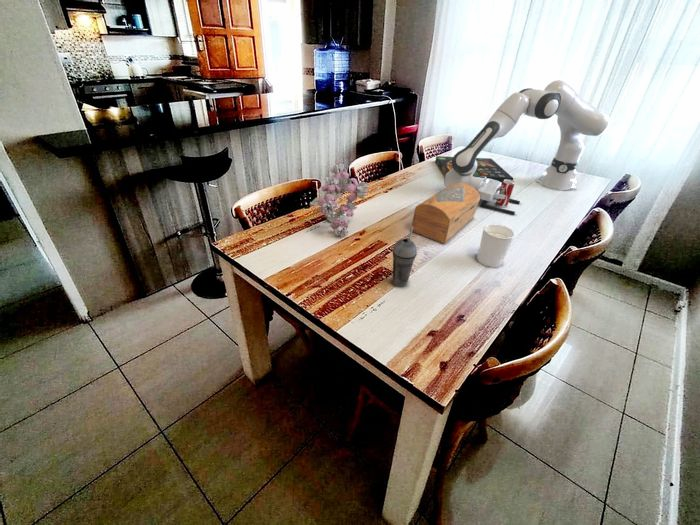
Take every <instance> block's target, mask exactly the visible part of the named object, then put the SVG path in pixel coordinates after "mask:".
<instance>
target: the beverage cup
mask: <svg viewBox="0 0 700 525" xmlns="http://www.w3.org/2000/svg"><path fill="white" fill-rule="evenodd" d="M412 234H413V226H412V225H411V229H410V232H409V235H408V238H401V239H399V240H398V241H396V242H395V244H394V246H393V247H392V284H393V285H394V286H395V287H398V288H405V287H406V286H407V285H408V282H409V279H410V276H411V272H412V268H413V265H414V261H415V259H416V257H417V255H418V249H417V245H416V244H415V243H414V241H413V240H411V238H412Z"/></svg>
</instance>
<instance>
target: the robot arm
mask: <svg viewBox="0 0 700 525" xmlns="http://www.w3.org/2000/svg"><path fill="white" fill-rule="evenodd" d="M554 115H556V116H557V119H556V120H557V121H556V122H557V125H558V127H559V131H560V139H559V140H560V141H559V144H558V148H557V150H556V153H555V155H554V157H553V158H552V161H551V164H550V166H548V167H546V168H545V170H544V172H543V175H542V176H541V177H540V178H538V179H537V180H536V181H537V183H538V184H541V185H543V187H544V186H545V187H547V188H548V189H553V190H558V191H569V190H570V191H572V190H574V191H575V190H576V186H575V184H576V183H577V180H576V178H577V175H578V173H577V171H576V169H577V168H578V166H579V161H580V159H581V156H582V154H583V151H584V149H585V144H584V143H583V141H582V136H586V137H599V136H601V135H603V134H604V133H606V131H607V130H608V129H609V127H610V125H611V117H610V116H609V114H608V115H607V114H606V113H604V112H602V111H601V110H599V109H598V108H597V107H595V106H594V105H592V104H591V103H589V102H587V101H586V100H585V99H583V98H582V97H581V95H579V94H578V93H577V91H576V90H575V89H574V88H573V87H572V86H570V84H568V83H566V82H565V81H564V80H554V81H552V82H550V83H548V84H547V86H546V87H545V88H544V89H543V90H542V89H535V88H523V89H521V90H520V91H518V92H514V93H512V94H511V95H510V96H508V97H507V98H506V99H505V100H504V101H503V102H502V103H500V105H499V107H497V109H496V110H495V111H494V113H493V114H492V115H491V116H490V118H489V120H488V121H487V122H486V124H485V125H484V126H483V128H481V130H480V131H479V132H478V133H477V134H476V135H475V137H474V138H473V139H472V140H471V141H470V142H469V143H468V145H466V146H465V147H464V148H463V149H461V150H459V151H457V152H456V153H455V154H454V155H453V156H452V157H453V159H452V167H453V168H452V169H451V170H450V171H449V172H447V173H446V175H445V176H444V179H443V184H444V187H445V188H447V187H448V186H450V185H454V184H458V183H464V184H467V185H470V186H472V187H473V188H475V189H476V190H477V192H478V194H479V196H480V200H482V201H484V200H486V201H487V202H492V201H493V199H494V198H495V200H497V199H505V196H506V195H505V194H499V192H500V189H501V185H502V184H501V182H500V181H497V180H493V179H489V178H487V179H486V177H485V176H481V177H473V175H474V173H475V171H476V169H477V161H476V158H478V156H479V154H480V153H481V152H482V151H483V150H484V149H485V147H487V146H488V144H489V143H490V142H492V141H493V140H494V139H497V138H503V137H505V136H506V135H507V134H508V133H509V132H510V131H512V130H513V128H514V127H515V126H516V125H517V124H518V123H519V121H520V120H521V118H522V117H523V116H527V117H531V118H536V119H539V120H548V119H551V118H552V117H553V116H554ZM574 183H575V184H574Z"/></svg>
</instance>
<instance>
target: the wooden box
mask: <svg viewBox="0 0 700 525" xmlns="http://www.w3.org/2000/svg"><path fill="white" fill-rule="evenodd" d="M480 200H481V199H480V196H479V194H478V192H477V190H476V189H475V188H473V187H472V186H470V185H467V184H464V183H458V184H454V185H450V186H448V187H447V188H446V187H445V188H443V189H442V190H440V191H438V192H436V193H435V194H434V195H432V196H430V197H429V198H427V199H425V200H424V201H423V202H421V203H419V204H417V205H416V206H415V208H414V211H413V216H412V223H411V227H412V226H413V231H412V233H415V234H418V235H421V236H423V237H426V238H428V239H431V240H433V241H436V242H439V243H441V244H447V242H448V241H450V240H451V239H452V238H453V237H454V236H456V235H457V233H458V232H460V231H461V230H462V229H463V228H464V227H465V226H466V225H468V224H469V223H470V222H471V221H472V220H474V218H475V215H476V211H477V209H478V206H479V203H480Z"/></svg>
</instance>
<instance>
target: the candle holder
mask: <svg viewBox="0 0 700 525" xmlns="http://www.w3.org/2000/svg"><path fill="white" fill-rule="evenodd" d="M515 236H516V234H515V231H513V229H511V228H510V227H508V226H505V225H503V224H496V223H490V224H486V225H485V226H483V231H482V234H481V239H480V242H479V248H478V251H477V255H476V259H477V261H478V262H479V263H480V264H482V265H483V266H486V267H490V268H497V267H500V266H502V264H503V262H504V260H505V257H506V255H507V253H508V250H509V249H510V247H511V244H512V243H513V242H512V241H513V240H514V238H515Z"/></svg>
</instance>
